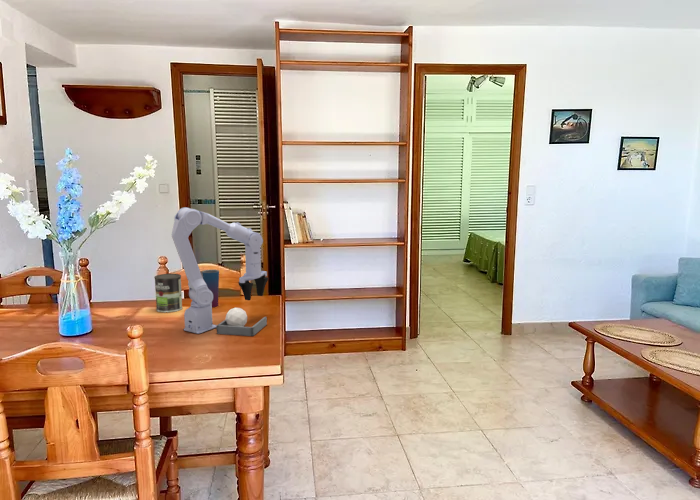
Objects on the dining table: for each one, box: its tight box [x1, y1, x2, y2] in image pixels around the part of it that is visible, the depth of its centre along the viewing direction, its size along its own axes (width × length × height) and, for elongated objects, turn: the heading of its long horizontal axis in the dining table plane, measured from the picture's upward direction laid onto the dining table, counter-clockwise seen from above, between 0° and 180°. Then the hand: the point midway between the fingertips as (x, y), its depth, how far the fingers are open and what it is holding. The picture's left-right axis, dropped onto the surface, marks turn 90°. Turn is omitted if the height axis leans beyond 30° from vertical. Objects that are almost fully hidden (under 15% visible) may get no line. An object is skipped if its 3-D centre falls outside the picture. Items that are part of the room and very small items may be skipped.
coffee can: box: [154, 273, 183, 314], centre depth 207 cm, size 10×10×14 cm
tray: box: [215, 316, 268, 337], centre depth 183 cm, size 14×14×3 cm
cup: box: [201, 269, 220, 308], centre depth 213 cm, size 7×7×15 cm
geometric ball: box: [224, 307, 248, 327], centre depth 183 cm, size 8×8×8 cm
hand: (254, 297), depth 193 cm, fingers open, 7 cm apart
